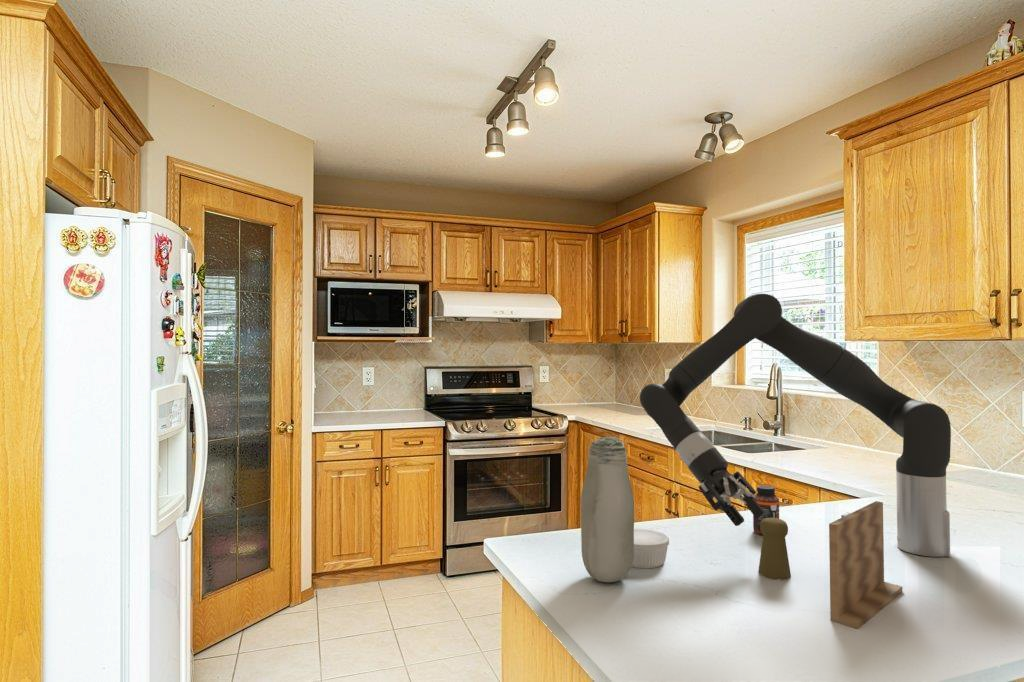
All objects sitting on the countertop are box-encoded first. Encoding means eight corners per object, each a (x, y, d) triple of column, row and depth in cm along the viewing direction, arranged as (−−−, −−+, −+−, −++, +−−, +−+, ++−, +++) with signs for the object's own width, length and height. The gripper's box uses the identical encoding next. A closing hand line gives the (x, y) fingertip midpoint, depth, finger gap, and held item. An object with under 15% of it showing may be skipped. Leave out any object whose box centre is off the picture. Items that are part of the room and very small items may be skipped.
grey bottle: (623, 593, 110) (621, 442, 110) (573, 582, 115) (572, 438, 116) (641, 576, 118) (640, 435, 119) (594, 566, 124) (593, 432, 124)
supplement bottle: (782, 537, 142) (781, 490, 142) (755, 536, 143) (755, 489, 143) (776, 530, 148) (775, 484, 148) (751, 528, 149) (750, 483, 149)
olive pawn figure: (752, 568, 122) (752, 515, 122) (780, 567, 122) (780, 514, 122) (767, 580, 116) (767, 523, 116) (797, 579, 116) (796, 523, 116)
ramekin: (605, 556, 130) (605, 532, 130) (647, 549, 134) (647, 526, 134) (635, 574, 120) (635, 548, 120) (680, 566, 124) (679, 540, 124)
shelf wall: (877, 585, 113) (875, 501, 113) (902, 591, 110) (901, 505, 110) (830, 619, 99) (829, 523, 99) (858, 628, 96) (856, 529, 96)
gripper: (693, 450, 125) (746, 516, 116) (728, 443, 134) (779, 503, 126) (672, 471, 129) (721, 536, 120) (708, 463, 138) (756, 523, 130)
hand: (751, 519), depth 123 cm, fingers open, 8 cm apart
